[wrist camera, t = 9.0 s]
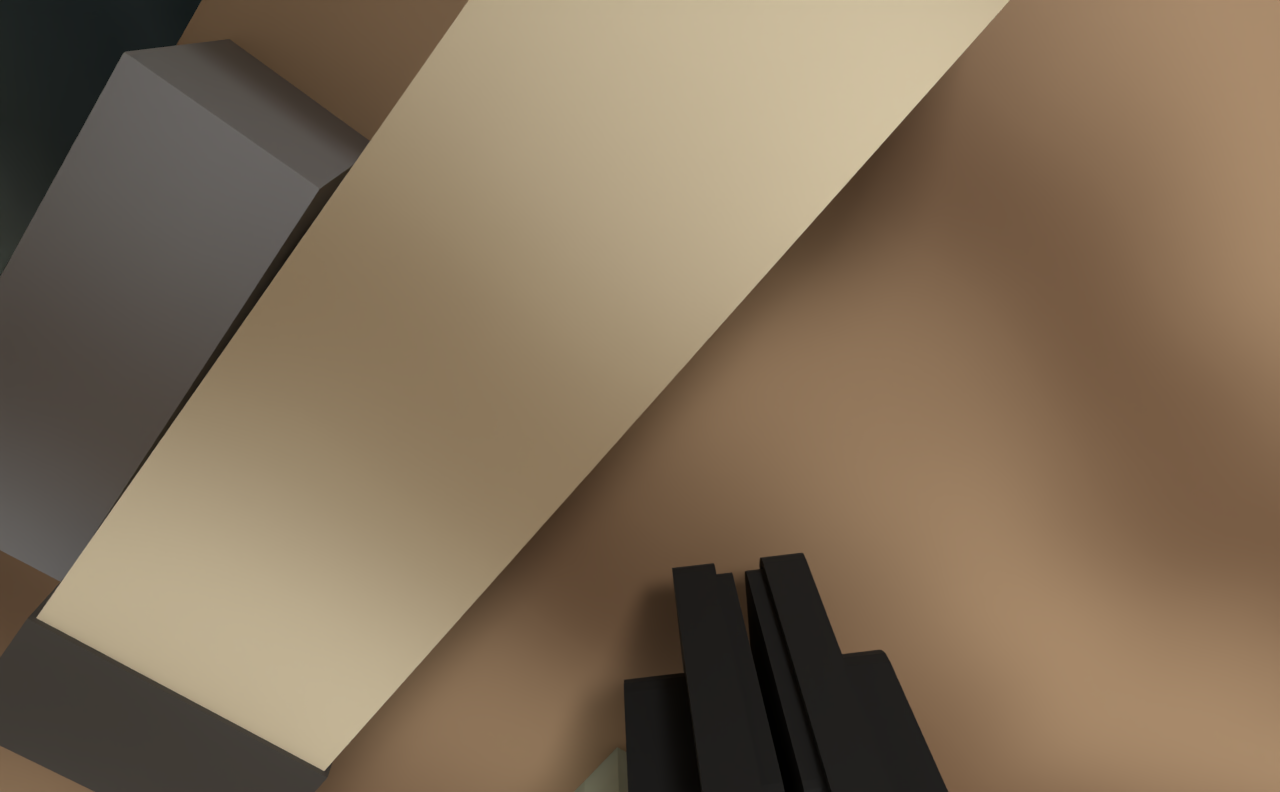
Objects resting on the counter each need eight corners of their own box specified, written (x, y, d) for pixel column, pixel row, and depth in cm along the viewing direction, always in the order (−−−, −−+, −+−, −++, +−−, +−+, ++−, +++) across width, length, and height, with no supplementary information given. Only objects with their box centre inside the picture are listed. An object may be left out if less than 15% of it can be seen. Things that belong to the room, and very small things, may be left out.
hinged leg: (881, -560, 8) (1131, -1042, 4) (1117, -270, 9) (1495, -458, 5) (129, 503, 12) (-90, 744, 8) (352, 634, 13) (249, 905, 9)
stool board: (764, -849, 9) (1043, -2230, 3) (1751, 357, 14) (2471, 583, 9) (-180, 752, 16) (-601, 1165, 10) (737, 1155, 21) (787, 1564, 16)
